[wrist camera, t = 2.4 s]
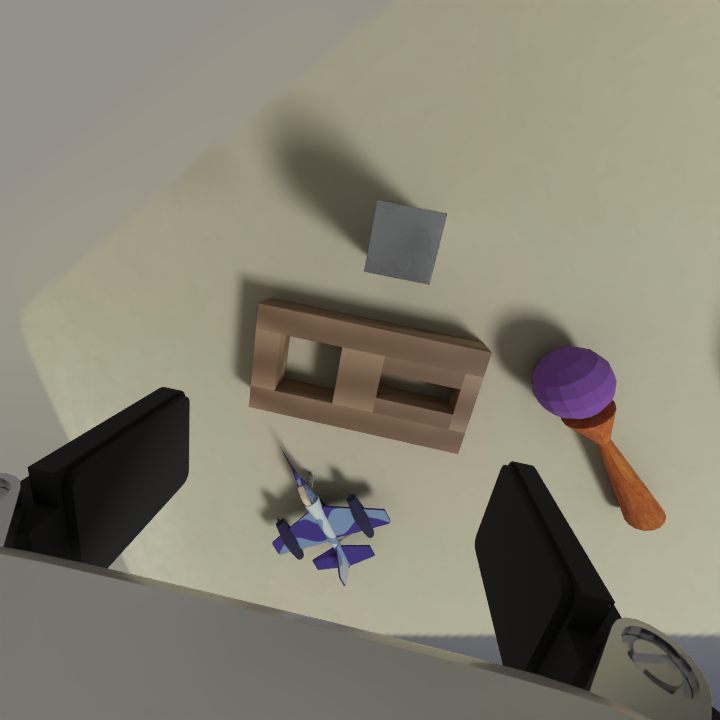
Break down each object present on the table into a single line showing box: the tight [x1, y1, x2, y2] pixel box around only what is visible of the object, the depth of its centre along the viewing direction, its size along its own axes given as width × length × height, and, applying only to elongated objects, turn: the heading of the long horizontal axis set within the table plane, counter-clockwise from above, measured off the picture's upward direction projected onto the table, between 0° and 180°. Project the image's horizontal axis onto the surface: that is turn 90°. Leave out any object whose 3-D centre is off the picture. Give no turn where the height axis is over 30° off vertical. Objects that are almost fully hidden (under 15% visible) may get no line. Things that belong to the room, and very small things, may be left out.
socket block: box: [249, 298, 492, 454], centre depth 32 cm, size 10×20×3 cm, turn 79°
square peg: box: [364, 200, 447, 285], centre depth 25 cm, size 4×4×10 cm
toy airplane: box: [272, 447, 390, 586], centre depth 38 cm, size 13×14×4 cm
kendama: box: [532, 346, 666, 531], centre depth 31 cm, size 6×6×20 cm
